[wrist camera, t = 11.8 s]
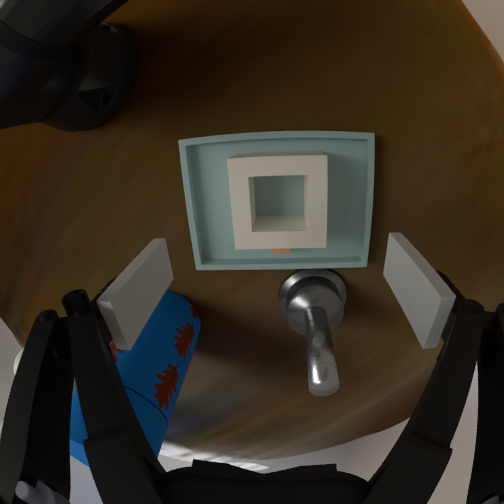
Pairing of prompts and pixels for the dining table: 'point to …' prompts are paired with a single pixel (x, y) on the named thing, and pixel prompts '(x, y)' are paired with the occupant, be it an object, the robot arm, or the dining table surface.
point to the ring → (281, 226)
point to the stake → (315, 321)
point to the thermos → (150, 371)
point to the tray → (279, 198)
